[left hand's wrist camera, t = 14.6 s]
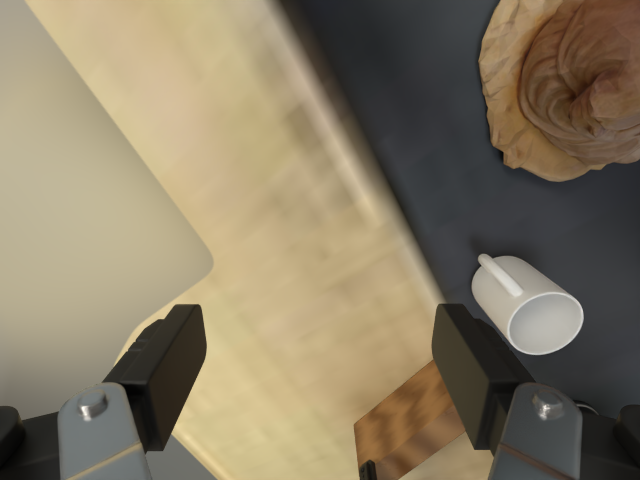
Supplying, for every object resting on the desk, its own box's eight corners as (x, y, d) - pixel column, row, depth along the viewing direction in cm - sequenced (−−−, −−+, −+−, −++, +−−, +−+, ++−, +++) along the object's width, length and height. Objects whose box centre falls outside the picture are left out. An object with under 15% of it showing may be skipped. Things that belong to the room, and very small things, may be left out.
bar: (463, 334, 51) (490, 377, 43) (483, 351, 52) (513, 396, 44) (353, 424, 57) (359, 476, 49) (373, 438, 58) (382, 490, 50)
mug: (442, 261, 46) (474, 300, 37) (495, 221, 44) (543, 253, 35) (489, 316, 50) (530, 367, 40) (541, 282, 48) (597, 327, 38)
